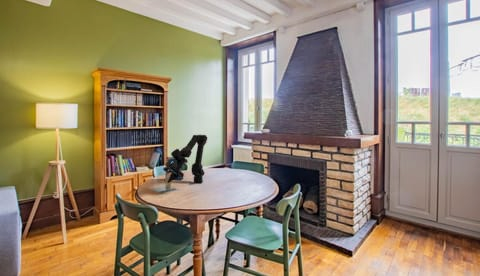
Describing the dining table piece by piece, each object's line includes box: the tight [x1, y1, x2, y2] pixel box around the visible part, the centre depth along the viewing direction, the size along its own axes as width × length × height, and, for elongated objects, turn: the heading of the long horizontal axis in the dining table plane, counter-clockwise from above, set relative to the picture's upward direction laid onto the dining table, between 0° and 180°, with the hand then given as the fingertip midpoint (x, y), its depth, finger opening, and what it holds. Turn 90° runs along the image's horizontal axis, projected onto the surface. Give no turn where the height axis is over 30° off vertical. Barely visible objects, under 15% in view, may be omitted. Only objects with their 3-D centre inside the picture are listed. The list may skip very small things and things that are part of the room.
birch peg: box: [164, 172, 172, 190], centre depth 185 cm, size 4×4×11 cm
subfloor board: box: [147, 184, 181, 195], centre depth 190 cm, size 20×14×2 cm
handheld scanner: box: [165, 156, 186, 181], centre depth 223 cm, size 5×16×20 cm, turn 78°
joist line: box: [158, 187, 178, 194], centre depth 185 cm, size 12×4×1 cm, turn 139°
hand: (166, 182), depth 184 cm, fingers closed on birch peg, 4 cm apart
